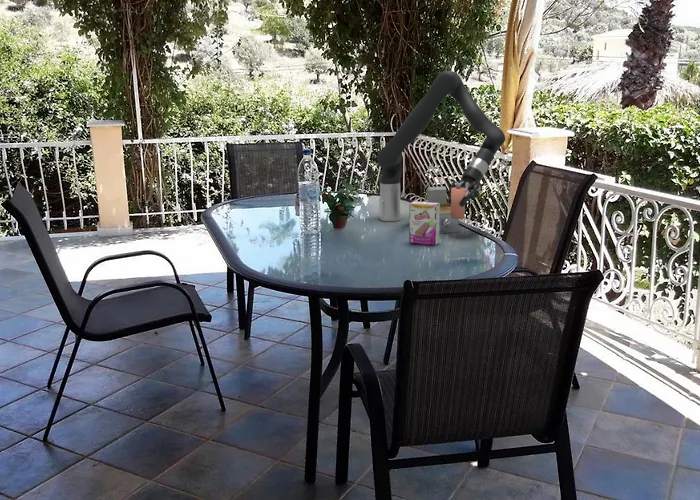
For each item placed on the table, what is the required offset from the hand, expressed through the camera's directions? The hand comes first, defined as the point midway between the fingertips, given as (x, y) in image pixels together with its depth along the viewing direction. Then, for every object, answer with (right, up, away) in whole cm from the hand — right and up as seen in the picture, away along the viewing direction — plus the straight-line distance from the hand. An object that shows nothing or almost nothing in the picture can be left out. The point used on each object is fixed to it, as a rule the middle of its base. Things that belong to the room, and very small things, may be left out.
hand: (455, 204), depth 262 cm
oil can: (+1, -5, +3) cm, 6 cm away
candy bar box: (-13, -16, -4) cm, 21 cm away
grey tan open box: (-3, -10, +17) cm, 20 cm away
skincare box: (-3, -6, +31) cm, 32 cm away
